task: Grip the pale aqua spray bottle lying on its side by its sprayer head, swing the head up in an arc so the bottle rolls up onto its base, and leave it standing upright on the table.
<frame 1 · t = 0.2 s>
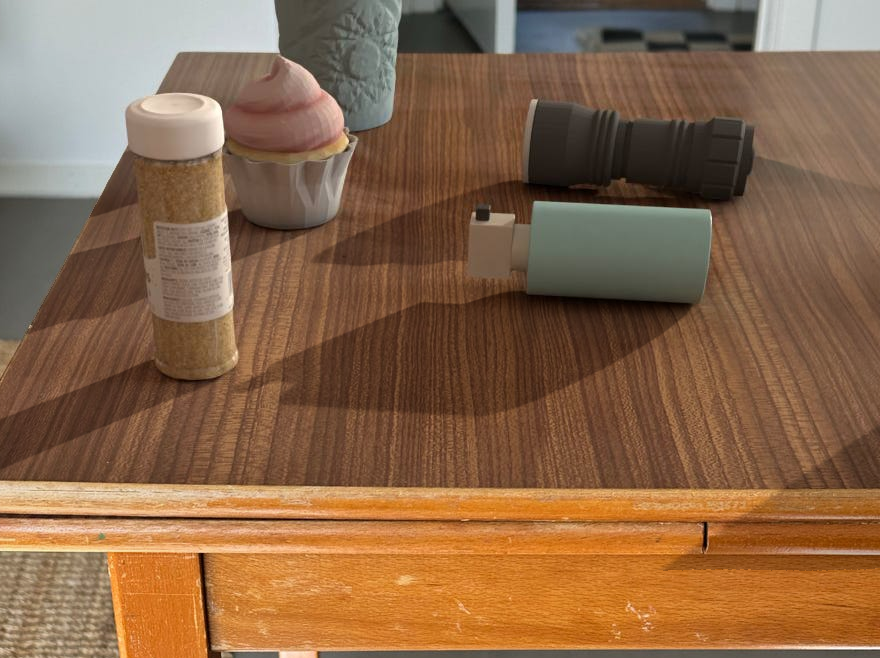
embossed vase: (341, 118, 105), on the table
spray bottle: (586, 250, 76), point 3 cm above the table, hinge at 0.0°
flashlight: (629, 192, 92), on the table
cupcake: (289, 217, 88), on the table
sprinkles bottle: (198, 368, 71), on the table
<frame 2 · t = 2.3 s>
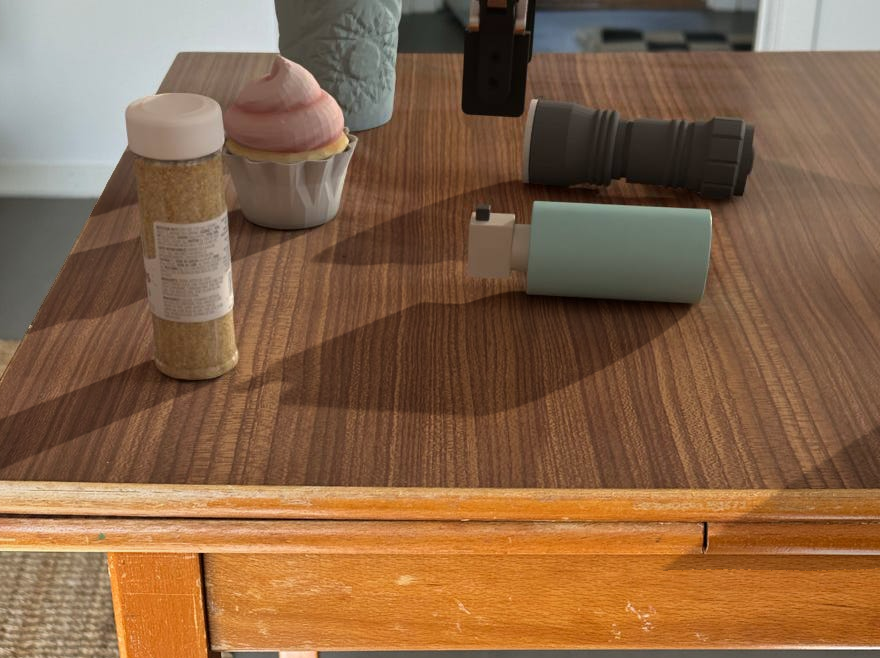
hand: (498, 86, 71), 12 cm above the table, tool pointing down, fingers open, 9 cm apart
nothing on the table moved.
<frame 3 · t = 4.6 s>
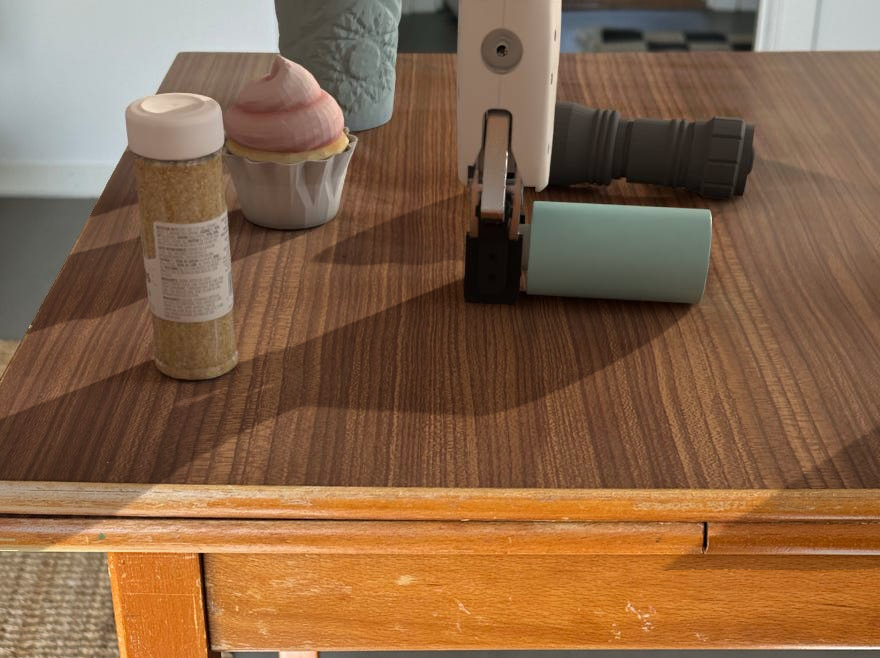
hand: (493, 286, 78), 0 cm above the table, tool pointing down, fingers closed on spray bottle, 2 cm apart
spray bottle: (586, 250, 76), point 3 cm above the table, hinge at 0.0°, touching gripper
everything else where it was.
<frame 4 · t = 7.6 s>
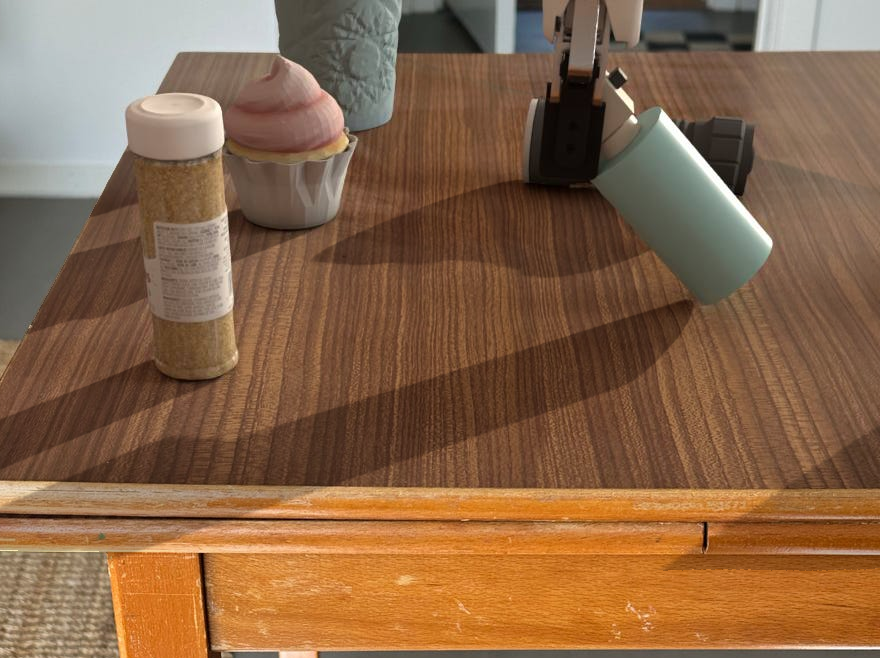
hand: (568, 165, 73), 8 cm above the table, tool pointing down, fingers closed, pressing on spray bottle
spray bottle: (660, 185, 74), point 7 cm above the table, hinge at 44.3°, touching gripper
everything else where it was.
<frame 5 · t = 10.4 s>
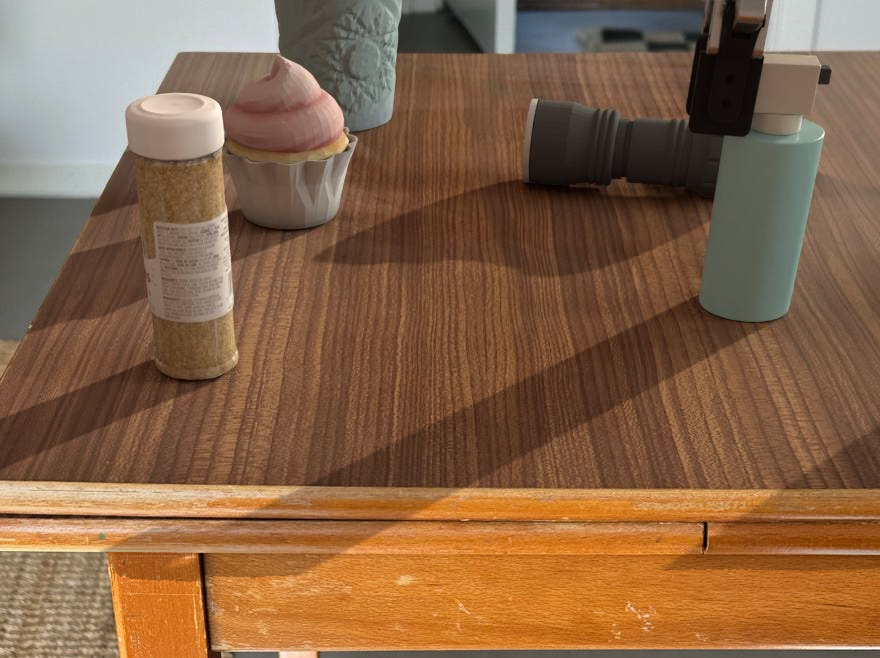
hand: (716, 122, 71), 10 cm above the table, tool pointing down, fingers closed, pressing on spray bottle
spray bottle: (764, 188, 73), point 7 cm above the table, hinge at 90.1°, touching gripper
everything else where it was.
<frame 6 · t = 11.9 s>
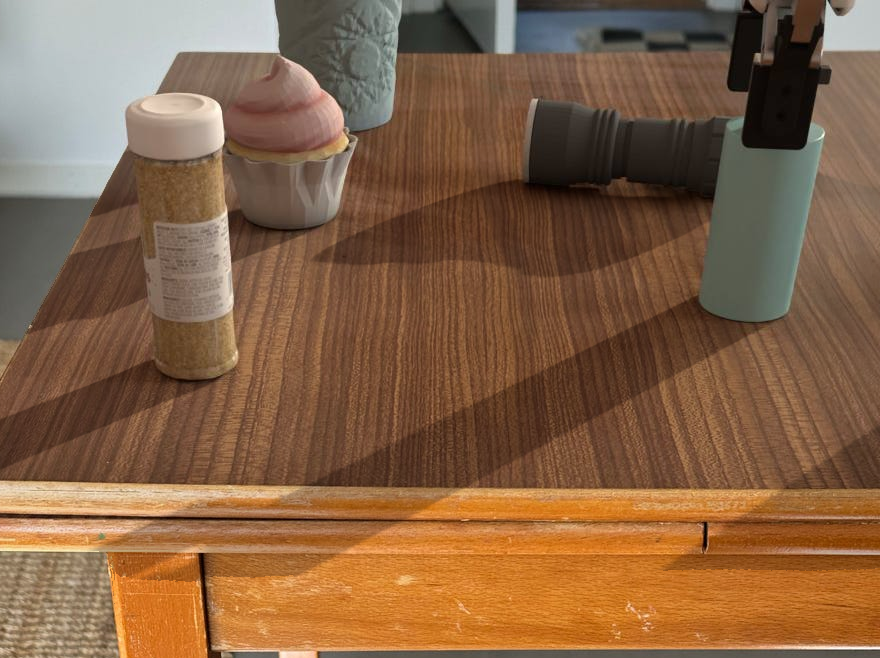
hand: (763, 117, 71), 10 cm above the table, tool pointing down, fingers open, 9 cm apart
spray bottle: (764, 188, 73), point 7 cm above the table, hinge at 90.1°
everything else where it was.
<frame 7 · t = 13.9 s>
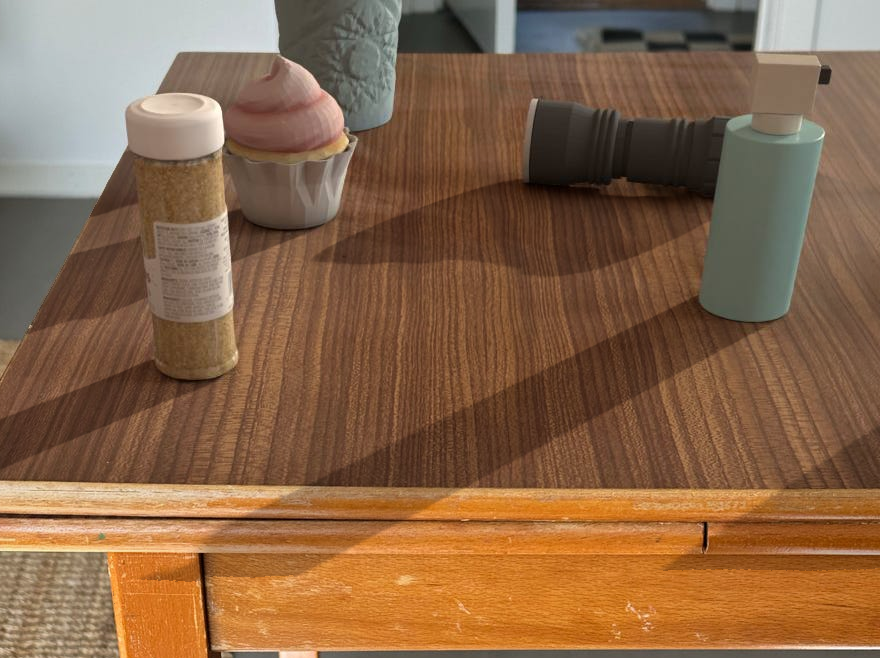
nothing on the table moved.
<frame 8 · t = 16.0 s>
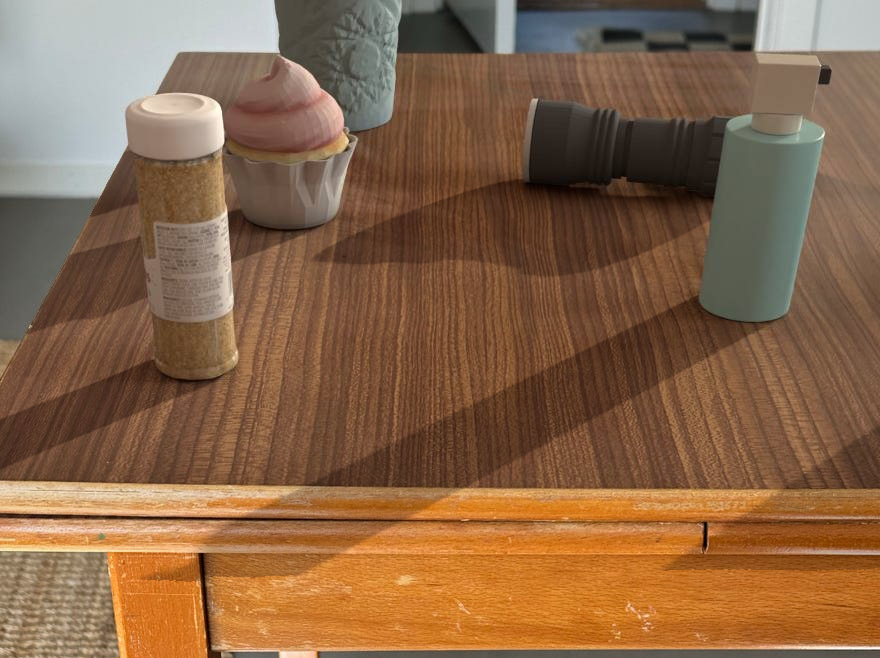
nothing on the table moved.
at the end: spray bottle at +90° (first picture: +0°); the gripper is holding nothing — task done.
